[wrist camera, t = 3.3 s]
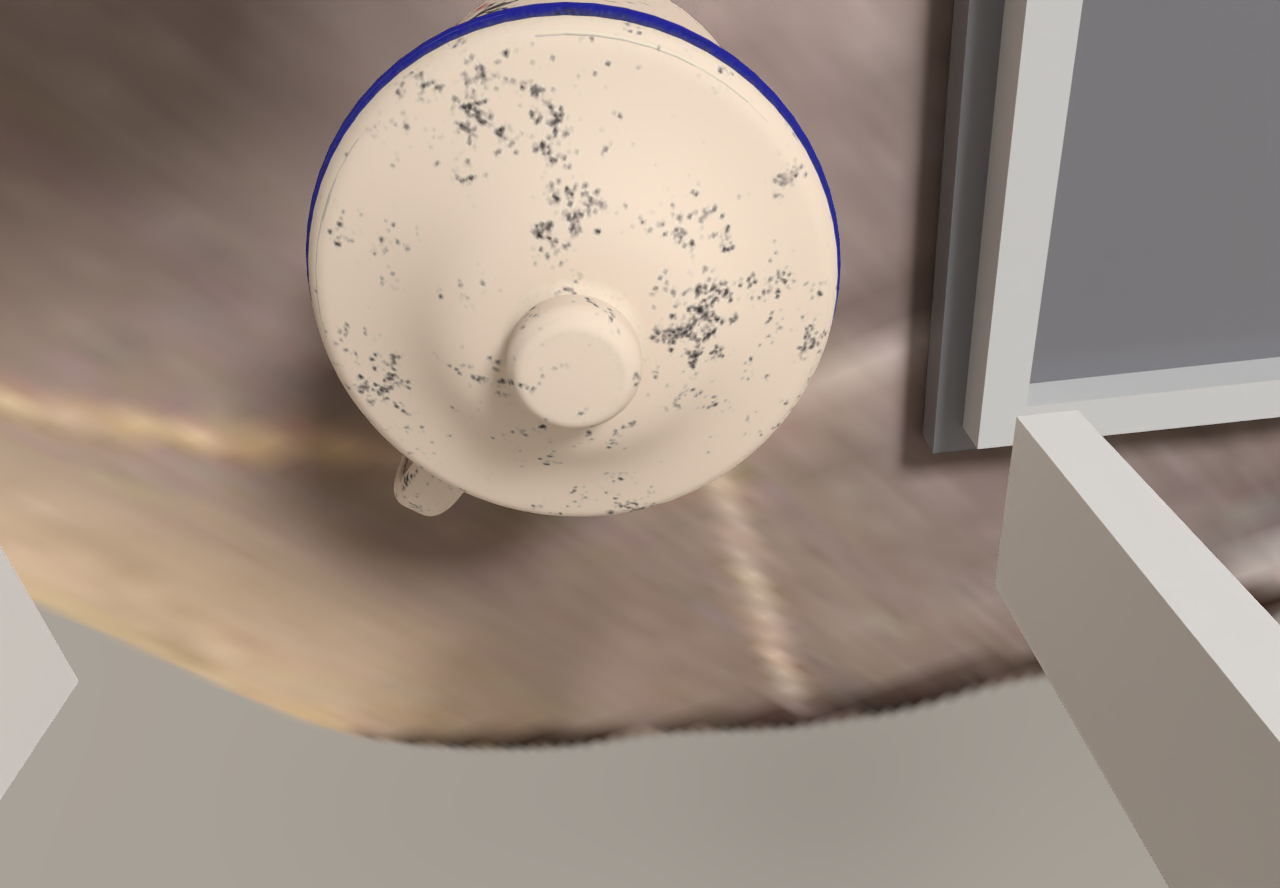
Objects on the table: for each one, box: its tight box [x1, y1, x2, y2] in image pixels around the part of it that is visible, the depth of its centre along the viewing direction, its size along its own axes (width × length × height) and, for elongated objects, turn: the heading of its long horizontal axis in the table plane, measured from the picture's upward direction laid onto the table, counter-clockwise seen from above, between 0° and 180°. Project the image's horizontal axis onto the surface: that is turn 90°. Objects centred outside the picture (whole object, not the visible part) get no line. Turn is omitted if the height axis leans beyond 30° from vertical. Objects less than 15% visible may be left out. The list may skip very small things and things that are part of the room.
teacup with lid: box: [306, 0, 841, 517], centre depth 19 cm, size 12×9×12 cm
